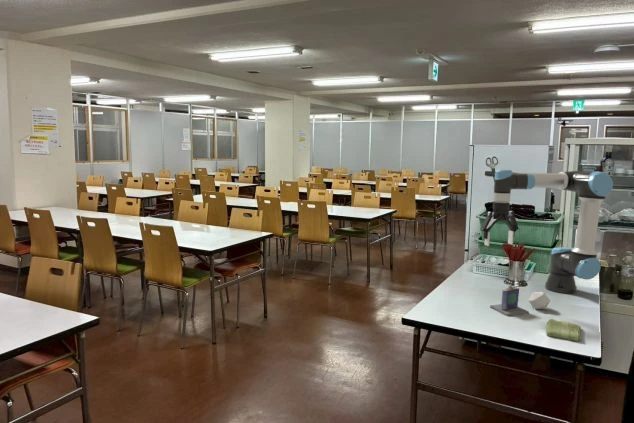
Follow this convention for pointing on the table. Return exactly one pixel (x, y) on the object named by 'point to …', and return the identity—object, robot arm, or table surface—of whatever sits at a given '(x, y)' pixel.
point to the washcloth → (563, 330)
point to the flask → (510, 298)
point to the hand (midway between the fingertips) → (498, 244)
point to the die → (539, 300)
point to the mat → (509, 312)
